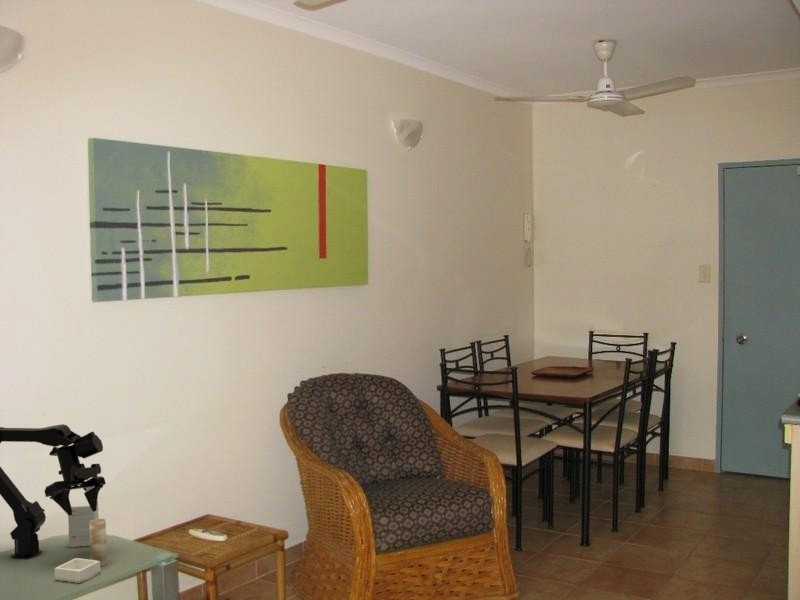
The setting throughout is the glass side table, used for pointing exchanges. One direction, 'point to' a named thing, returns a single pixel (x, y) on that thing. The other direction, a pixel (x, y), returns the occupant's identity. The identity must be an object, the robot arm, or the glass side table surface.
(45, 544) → the glass side table surface
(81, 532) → the small box
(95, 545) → the tan rounded rod
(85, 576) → the white square tray
